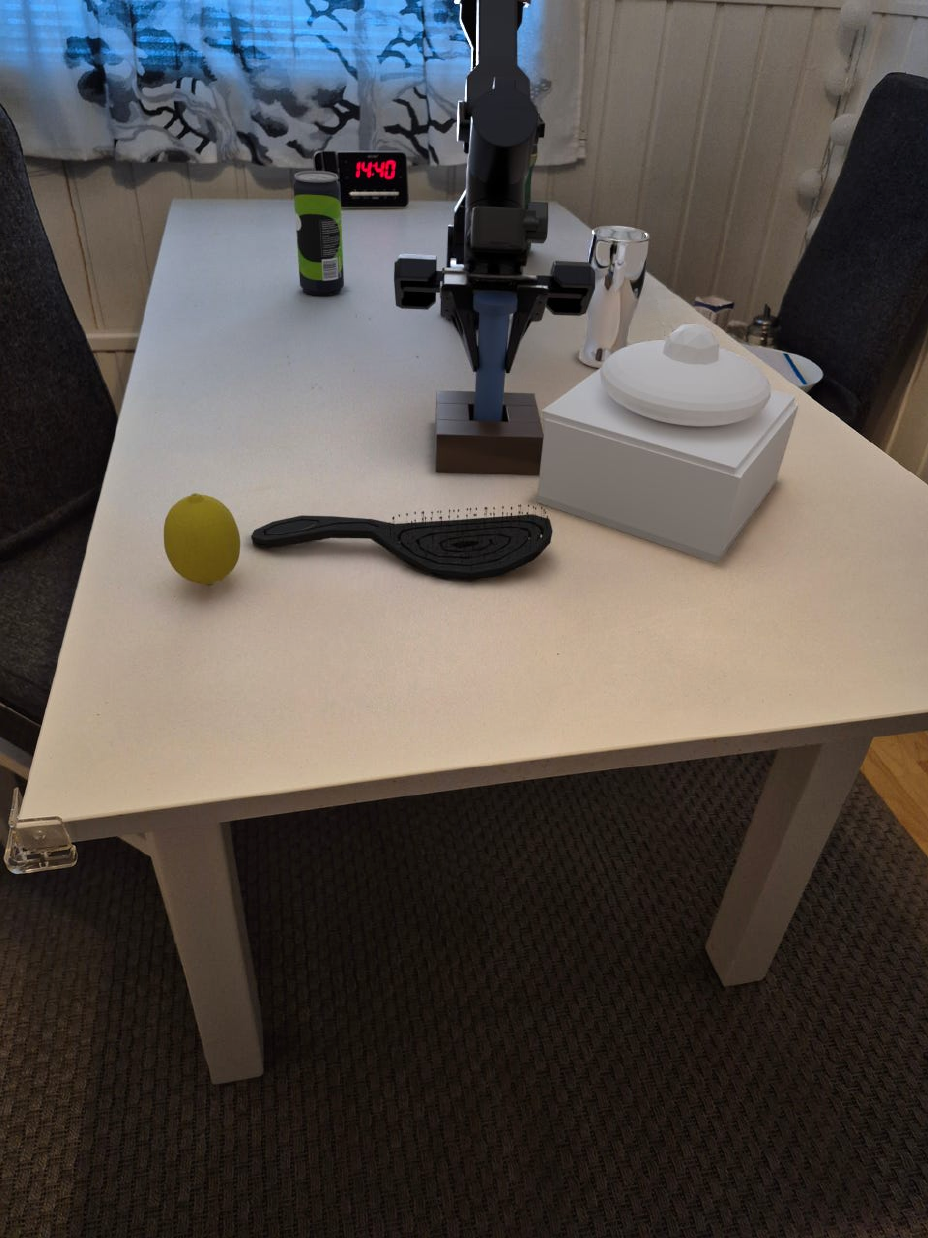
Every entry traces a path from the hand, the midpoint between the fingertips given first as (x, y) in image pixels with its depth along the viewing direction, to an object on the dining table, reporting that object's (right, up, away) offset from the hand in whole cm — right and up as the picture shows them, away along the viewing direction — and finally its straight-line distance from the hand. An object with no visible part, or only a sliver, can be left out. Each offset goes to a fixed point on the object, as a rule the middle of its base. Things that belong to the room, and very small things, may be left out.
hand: (491, 370), depth 83 cm
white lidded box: (+16, -11, +1) cm, 20 cm away
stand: (0, -6, +6) cm, 9 cm away
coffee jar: (+3, +38, +64) cm, 74 cm away
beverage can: (-23, +24, +44) cm, 55 cm away
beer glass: (+15, +9, +27) cm, 32 cm away
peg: (0, -4, +5) cm, 7 cm away
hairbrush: (-8, -18, -9) cm, 21 cm away
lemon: (-23, -21, -14) cm, 34 cm away
